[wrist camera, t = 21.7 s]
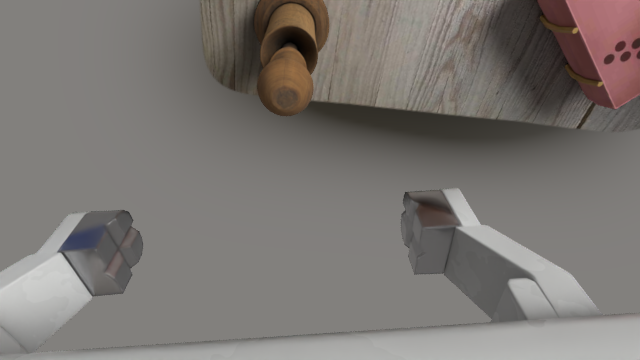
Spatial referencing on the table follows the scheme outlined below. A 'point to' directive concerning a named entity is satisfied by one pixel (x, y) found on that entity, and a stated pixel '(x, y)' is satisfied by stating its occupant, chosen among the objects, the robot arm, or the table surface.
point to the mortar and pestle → (289, 51)
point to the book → (599, 46)
